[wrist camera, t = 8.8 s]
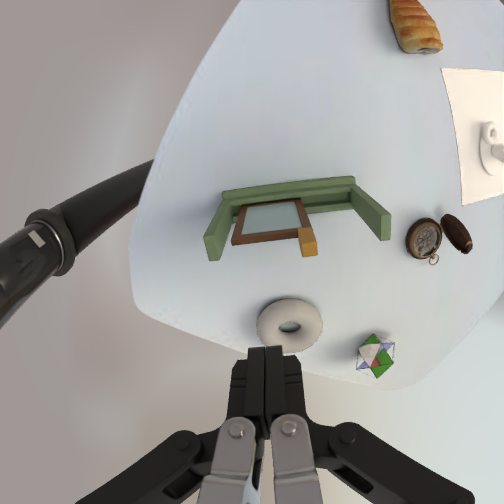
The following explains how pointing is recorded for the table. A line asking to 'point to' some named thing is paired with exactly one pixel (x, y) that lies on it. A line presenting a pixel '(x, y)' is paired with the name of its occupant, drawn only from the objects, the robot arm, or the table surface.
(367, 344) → the geometric puzzle
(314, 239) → the sash
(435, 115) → the table surface
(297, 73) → the table surface
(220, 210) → the window frame
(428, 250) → the compass
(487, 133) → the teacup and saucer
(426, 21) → the pastry
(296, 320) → the donut
